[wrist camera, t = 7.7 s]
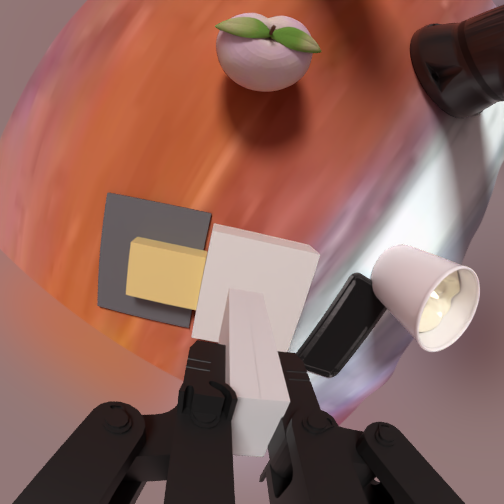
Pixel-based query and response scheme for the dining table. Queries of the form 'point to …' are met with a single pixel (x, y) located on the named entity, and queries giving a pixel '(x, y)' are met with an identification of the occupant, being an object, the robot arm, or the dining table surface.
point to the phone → (342, 327)
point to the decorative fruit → (264, 51)
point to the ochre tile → (165, 272)
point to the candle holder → (426, 294)
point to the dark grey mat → (151, 227)
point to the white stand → (254, 280)
